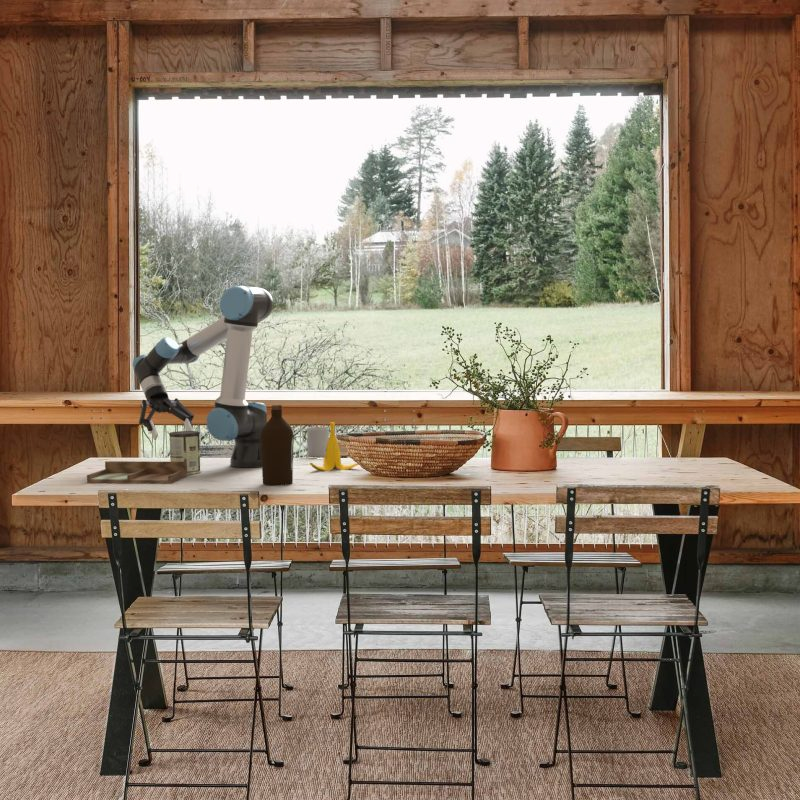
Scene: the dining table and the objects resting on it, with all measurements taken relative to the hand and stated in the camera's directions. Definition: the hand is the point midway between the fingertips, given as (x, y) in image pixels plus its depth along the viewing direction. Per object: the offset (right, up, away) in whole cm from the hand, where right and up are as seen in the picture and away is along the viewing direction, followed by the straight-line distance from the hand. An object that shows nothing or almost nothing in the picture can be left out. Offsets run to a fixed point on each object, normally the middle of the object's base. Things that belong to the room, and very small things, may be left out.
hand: (174, 436), depth 343 cm
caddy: (-7, -14, -20) cm, 25 cm away
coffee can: (+5, -13, -4) cm, 14 cm away
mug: (+47, -9, +43) cm, 65 cm away
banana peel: (+58, -12, +3) cm, 59 cm away
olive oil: (+40, -14, -31) cm, 53 cm away
